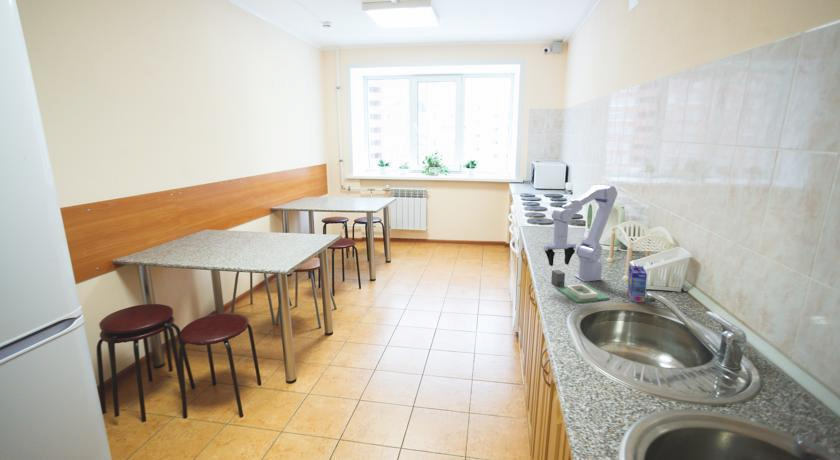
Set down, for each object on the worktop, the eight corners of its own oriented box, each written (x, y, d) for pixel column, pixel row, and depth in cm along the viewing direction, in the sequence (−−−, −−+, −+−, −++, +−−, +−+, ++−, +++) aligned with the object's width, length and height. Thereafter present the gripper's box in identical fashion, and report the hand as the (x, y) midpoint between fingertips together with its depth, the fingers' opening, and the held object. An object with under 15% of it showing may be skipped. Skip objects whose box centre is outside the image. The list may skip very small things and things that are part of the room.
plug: (558, 282, 184) (559, 269, 183) (565, 286, 179) (565, 273, 177) (551, 282, 184) (552, 270, 182) (557, 287, 178) (558, 274, 177)
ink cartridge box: (626, 292, 171) (629, 259, 168) (640, 293, 169) (644, 260, 166) (629, 301, 162) (633, 267, 159) (645, 302, 160) (648, 268, 157)
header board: (587, 286, 178) (588, 281, 178) (609, 299, 164) (610, 293, 163) (556, 289, 176) (557, 283, 175) (576, 302, 161) (576, 296, 161)
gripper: (570, 232, 182) (568, 260, 185) (540, 234, 179) (539, 263, 182) (579, 235, 175) (577, 265, 178) (548, 238, 172) (547, 268, 175)
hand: (558, 264), depth 180 cm, fingers open, 7 cm apart
